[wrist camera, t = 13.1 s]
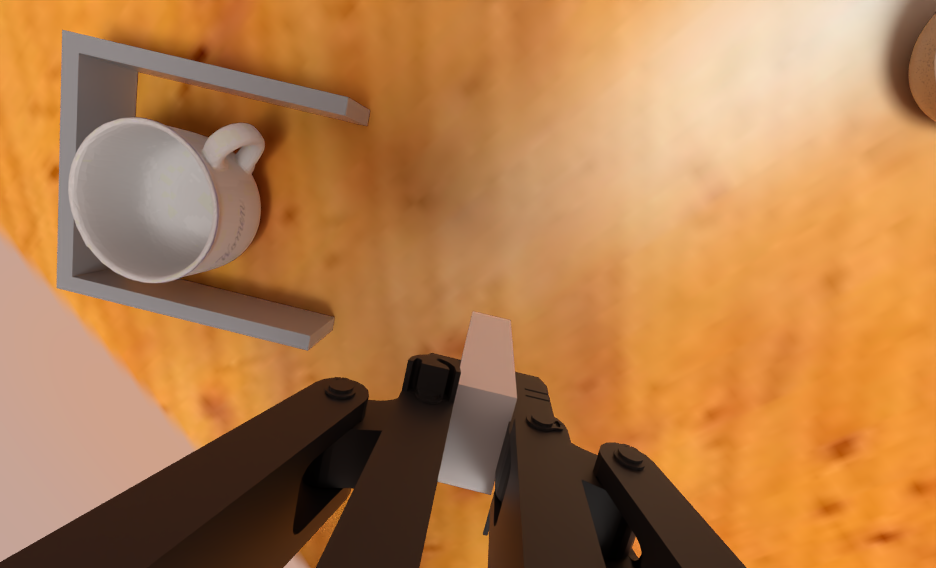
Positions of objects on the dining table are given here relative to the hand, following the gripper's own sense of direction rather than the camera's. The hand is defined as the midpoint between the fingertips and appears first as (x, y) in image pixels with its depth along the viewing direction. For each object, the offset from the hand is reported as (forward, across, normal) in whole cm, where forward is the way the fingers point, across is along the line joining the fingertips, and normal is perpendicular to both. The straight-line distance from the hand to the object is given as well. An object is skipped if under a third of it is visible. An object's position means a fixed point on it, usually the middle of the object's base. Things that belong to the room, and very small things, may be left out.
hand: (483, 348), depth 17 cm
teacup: (+20, +22, -1) cm, 30 cm away
